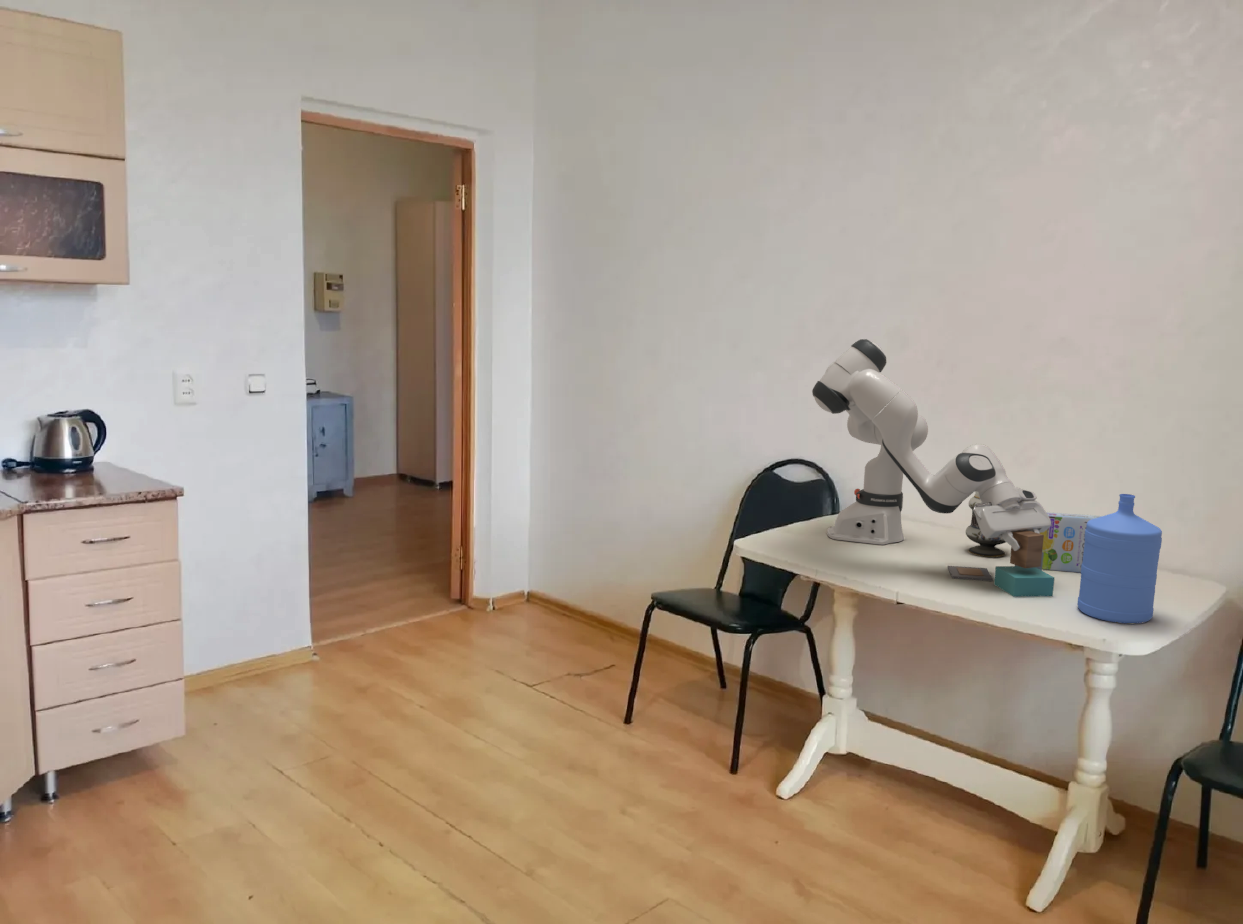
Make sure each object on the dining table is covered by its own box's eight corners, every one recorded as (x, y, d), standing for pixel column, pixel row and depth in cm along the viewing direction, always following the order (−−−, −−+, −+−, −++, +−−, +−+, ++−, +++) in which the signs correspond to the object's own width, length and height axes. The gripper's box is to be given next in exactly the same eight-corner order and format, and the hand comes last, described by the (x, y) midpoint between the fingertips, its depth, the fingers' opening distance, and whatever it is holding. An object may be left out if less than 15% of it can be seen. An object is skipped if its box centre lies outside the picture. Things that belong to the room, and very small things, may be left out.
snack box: (1109, 570, 258) (1115, 515, 255) (1113, 576, 253) (1120, 520, 250) (1024, 563, 264) (1029, 509, 261) (1027, 568, 258) (1032, 514, 256)
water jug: (1131, 629, 211) (1145, 505, 207) (1063, 610, 224) (1075, 492, 219) (1165, 616, 221) (1179, 497, 216) (1098, 598, 233) (1110, 485, 228)
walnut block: (1009, 563, 239) (1012, 532, 238) (1024, 561, 241) (1027, 530, 240) (1025, 568, 235) (1028, 536, 233) (1040, 566, 237) (1043, 535, 235)
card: (952, 578, 248) (952, 575, 248) (947, 567, 257) (947, 564, 257) (993, 581, 246) (993, 578, 246) (986, 570, 256) (986, 567, 255)
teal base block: (1013, 597, 234) (1015, 577, 233) (993, 585, 243) (995, 566, 243) (1052, 597, 235) (1054, 577, 234) (1031, 585, 244) (1033, 566, 243)
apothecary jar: (1002, 548, 279) (1007, 487, 276) (1014, 559, 267) (1020, 496, 264) (959, 546, 280) (964, 486, 277) (969, 557, 268) (975, 494, 265)
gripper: (977, 497, 237) (1004, 545, 230) (1039, 492, 245) (1066, 538, 238) (963, 511, 242) (988, 558, 235) (1024, 505, 250) (1050, 551, 243)
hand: (1028, 548), depth 237 cm, fingers closed on walnut block, 5 cm apart
